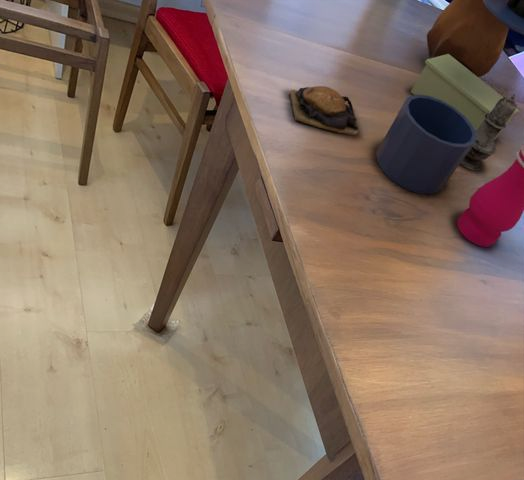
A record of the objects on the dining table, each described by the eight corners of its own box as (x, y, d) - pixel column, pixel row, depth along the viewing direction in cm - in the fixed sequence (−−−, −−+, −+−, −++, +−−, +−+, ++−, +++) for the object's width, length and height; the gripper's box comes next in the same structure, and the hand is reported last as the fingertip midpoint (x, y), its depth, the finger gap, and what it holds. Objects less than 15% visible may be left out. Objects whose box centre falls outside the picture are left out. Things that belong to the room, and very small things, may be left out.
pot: (455, 182, 87) (489, 136, 81) (417, 203, 81) (450, 154, 74) (403, 137, 90) (432, 89, 83) (362, 153, 83) (389, 102, 77)
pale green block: (497, 139, 100) (519, 110, 95) (477, 149, 96) (500, 119, 91) (430, 84, 104) (448, 53, 99) (408, 91, 100) (426, 59, 95)
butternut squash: (470, 65, 115) (557, -73, 96) (484, 101, 107) (582, -40, 88) (410, 43, 112) (488, -104, 92) (420, 79, 104) (507, -73, 84)
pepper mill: (455, 206, 83) (550, 83, 68) (497, 227, 84) (601, 109, 68) (452, 236, 79) (552, 111, 63) (497, 257, 79) (608, 139, 64)
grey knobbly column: (481, 176, 91) (531, 112, 81) (449, 160, 91) (496, 93, 81) (484, 159, 94) (532, 95, 85) (453, 143, 94) (499, 77, 85)
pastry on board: (293, 124, 82) (302, 101, 79) (287, 90, 87) (296, 68, 84) (358, 139, 85) (369, 118, 83) (349, 106, 90) (359, 85, 87)
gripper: (677, -100, 71) (571, 40, 86) (577, -163, 75) (491, -19, 90) (661, -102, 67) (552, 46, 81) (556, -169, 71) (469, -17, 85)
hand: (521, 10), depth 85 cm, fingers closed on lid, 2 cm apart
